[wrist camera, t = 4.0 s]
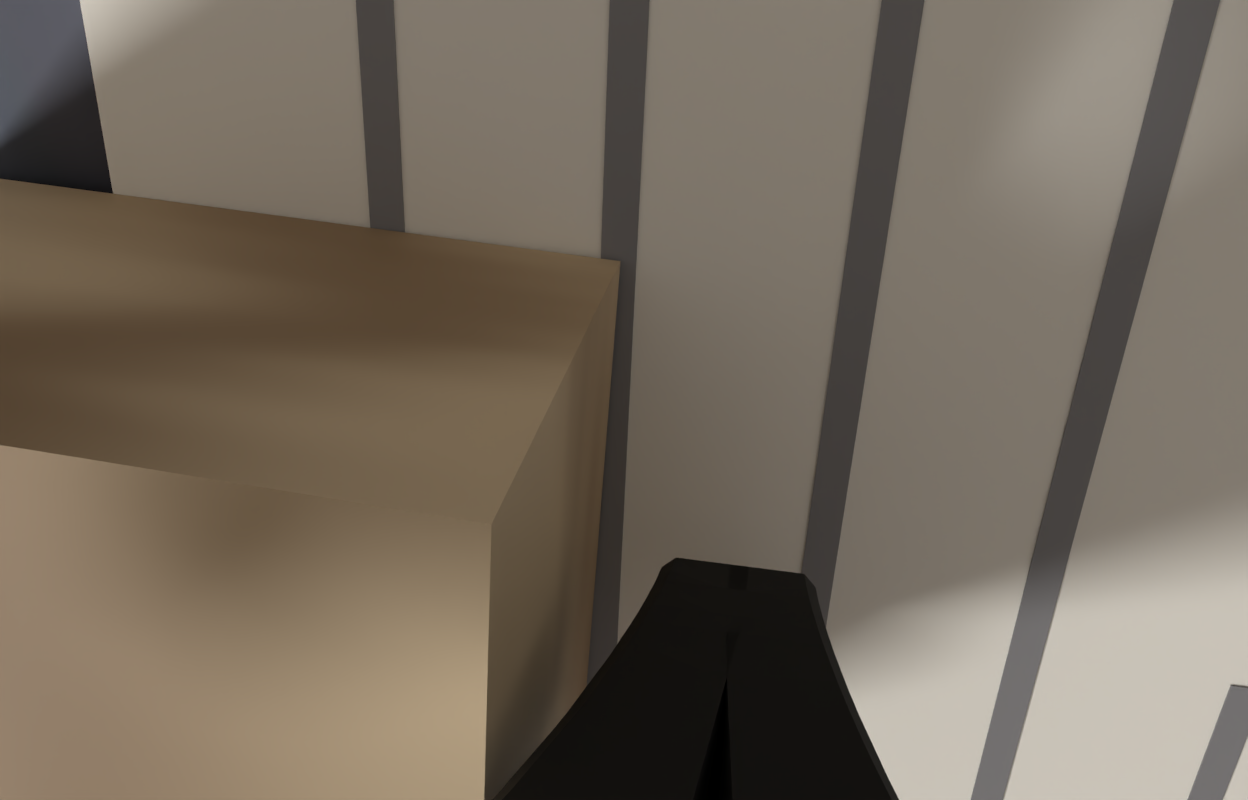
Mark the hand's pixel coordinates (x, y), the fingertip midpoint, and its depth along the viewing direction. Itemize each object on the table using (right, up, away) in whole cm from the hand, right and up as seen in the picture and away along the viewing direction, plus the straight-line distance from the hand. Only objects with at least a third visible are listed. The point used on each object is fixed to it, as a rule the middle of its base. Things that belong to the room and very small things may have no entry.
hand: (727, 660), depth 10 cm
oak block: (-4, +1, +1) cm, 4 cm away
